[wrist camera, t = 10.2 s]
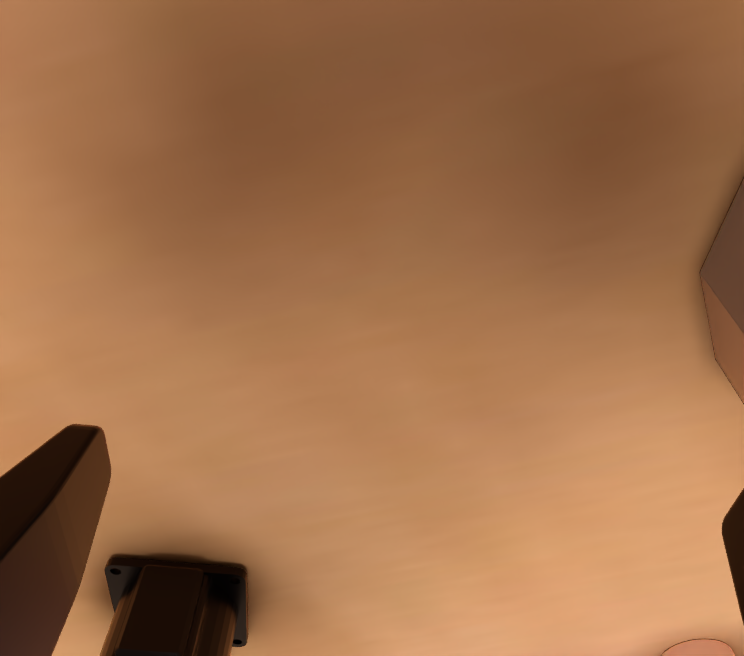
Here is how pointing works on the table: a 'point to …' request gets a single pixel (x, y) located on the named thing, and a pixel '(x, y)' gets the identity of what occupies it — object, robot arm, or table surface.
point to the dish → (727, 293)
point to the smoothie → (700, 648)
